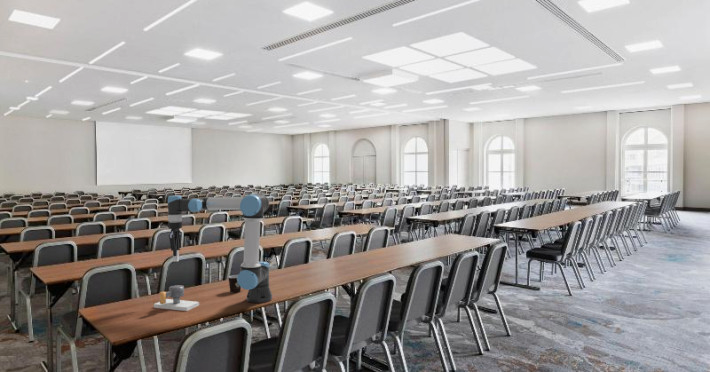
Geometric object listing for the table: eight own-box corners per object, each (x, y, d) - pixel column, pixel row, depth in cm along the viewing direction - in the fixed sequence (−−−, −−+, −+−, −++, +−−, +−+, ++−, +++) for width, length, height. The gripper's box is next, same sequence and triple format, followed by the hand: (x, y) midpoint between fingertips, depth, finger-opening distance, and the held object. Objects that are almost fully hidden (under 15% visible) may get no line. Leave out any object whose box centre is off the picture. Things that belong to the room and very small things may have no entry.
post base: (199, 305, 254) (198, 295, 254) (186, 311, 244) (186, 300, 244) (167, 302, 260) (166, 292, 260) (153, 307, 250) (153, 297, 250)
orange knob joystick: (175, 295, 257) (175, 284, 257) (187, 296, 254) (186, 285, 254) (154, 303, 241) (154, 291, 241) (166, 304, 239) (166, 293, 239)
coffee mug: (228, 294, 278) (228, 278, 278) (228, 290, 287) (228, 275, 286) (247, 292, 281) (247, 277, 281) (246, 289, 290) (246, 274, 289)
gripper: (173, 220, 266) (174, 259, 266) (163, 222, 253) (164, 263, 253) (185, 220, 266) (186, 259, 266) (176, 222, 253) (177, 263, 253)
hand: (175, 261), depth 260 cm, fingers closed
